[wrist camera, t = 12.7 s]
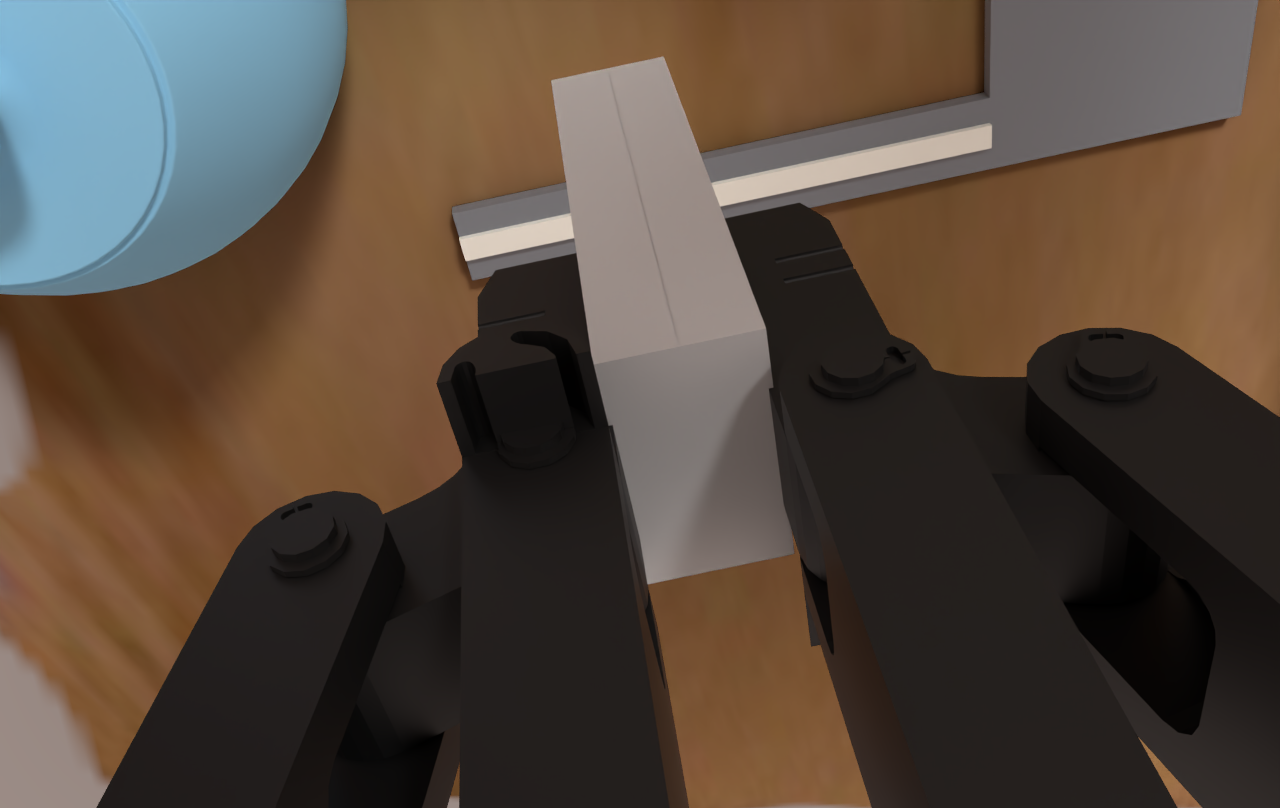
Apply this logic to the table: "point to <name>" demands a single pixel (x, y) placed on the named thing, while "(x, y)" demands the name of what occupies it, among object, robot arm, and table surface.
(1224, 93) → the label board
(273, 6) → the sugar bowl
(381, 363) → the table surface
